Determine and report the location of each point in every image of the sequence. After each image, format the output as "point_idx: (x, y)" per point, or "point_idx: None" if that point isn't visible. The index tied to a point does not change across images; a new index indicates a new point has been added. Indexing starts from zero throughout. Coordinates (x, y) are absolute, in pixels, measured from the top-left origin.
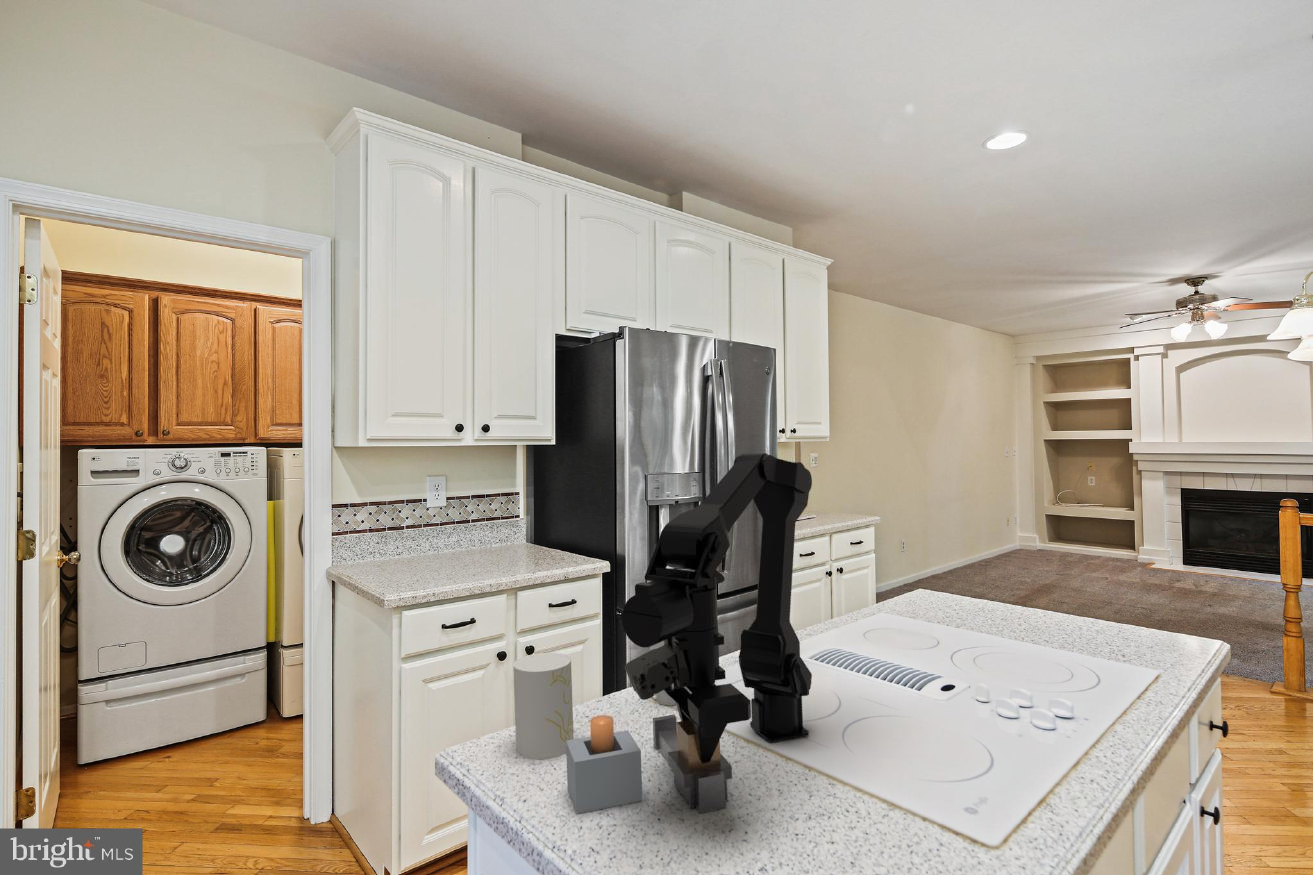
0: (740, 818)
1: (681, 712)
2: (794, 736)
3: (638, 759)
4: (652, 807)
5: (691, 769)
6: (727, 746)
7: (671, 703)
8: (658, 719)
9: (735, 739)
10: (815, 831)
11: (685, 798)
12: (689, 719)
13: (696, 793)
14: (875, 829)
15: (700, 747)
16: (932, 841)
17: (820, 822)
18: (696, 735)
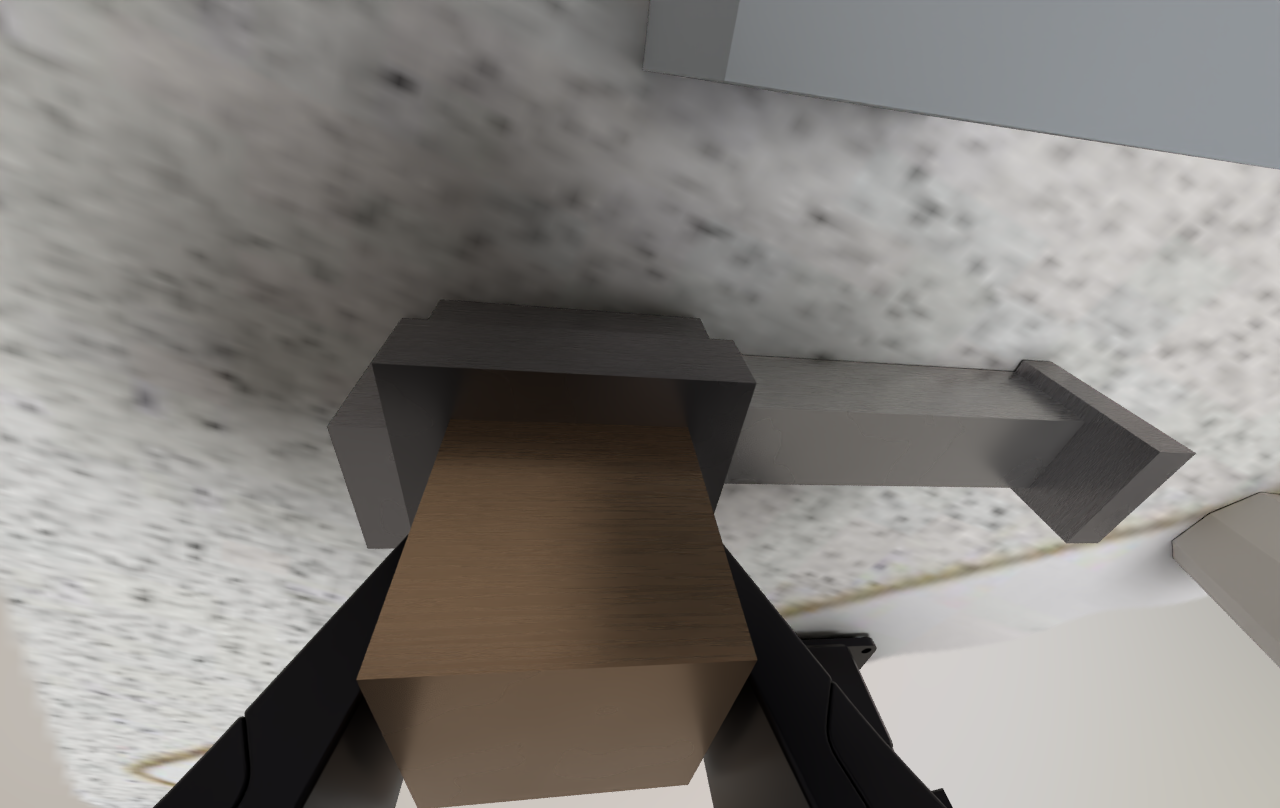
0: (329, 443)
1: (800, 785)
2: None
3: (705, 36)
4: (544, 101)
5: (445, 431)
6: (820, 562)
7: (1209, 525)
8: (1147, 471)
9: (838, 589)
10: (213, 586)
11: (523, 308)
12: (735, 721)
13: None
14: (219, 675)
15: (322, 627)
16: (158, 724)
17: (269, 608)
18: (302, 734)
